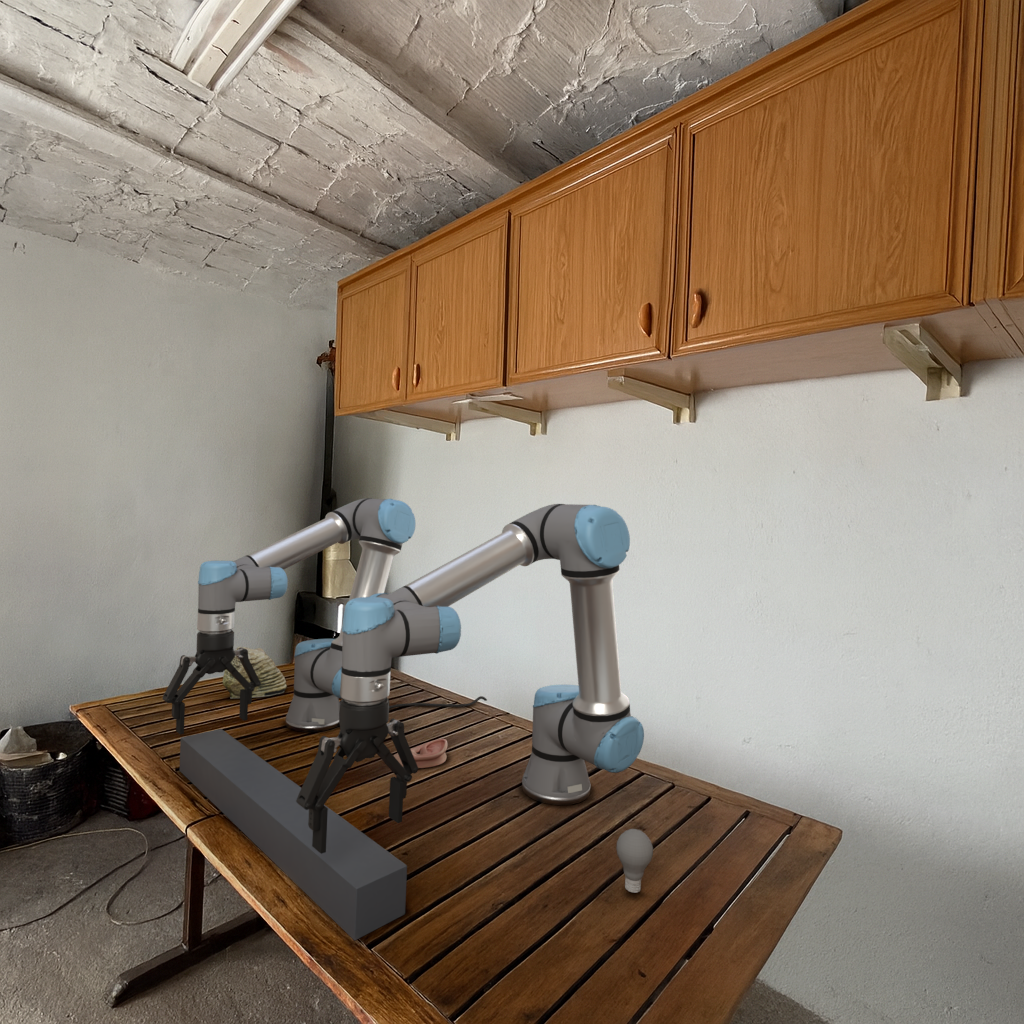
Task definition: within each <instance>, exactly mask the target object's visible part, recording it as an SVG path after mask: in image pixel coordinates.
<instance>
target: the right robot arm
mask: <svg viewBox="0 0 1024 1024" xmlns="http://www.w3.org/2000/svg"><path fill="white" fill-rule="evenodd" d="M630 536H631V535H630V530H629V527H628V524H627V523H626V521H625V519H624V517H623V516H622V515H621V514H619V513H618V511H616V510H615V509H613V508H611V507H607V506H601V505H597V504H572V503H571V504H570V503H569V504H568V503H567V504H566V503H553V504H548V505H545V506H542V507H539V508H537V509H536V510H533V511H531V512H528V513H526V514H525V515H523V516H521V517H519V518H517V519H515V520H513V521H511V522H509V523H507V524H506V525H504V526H503V527H502V530H501V532H500V533H499V534H497V535H495V536H494V537H492V538H490V539H488V540H487V541H485V542H483V543H481V544H479V545H478V546H475V547H473V548H471V549H470V550H467V551H466V552H465V553H463V554H461V555H459V556H457V557H455V558H453V559H452V560H449V561H448V562H446V563H444V564H442V565H440V566H438V567H437V568H435V569H433V570H431V571H429V572H428V573H426V574H424V575H422V576H420V577H418V578H416V579H414V580H413V581H411V582H409V583H408V584H405V585H404V586H402V587H399V588H397V589H396V590H393V591H392V592H390V593H388V592H384V593H377V594H374V595H372V596H370V597H360V598H354V599H351V600H350V601H349V600H348V601H347V602H346V604H345V607H344V613H343V620H342V624H343V627H342V626H341V628H342V632H343V644H342V670H341V686H340V697H341V698H342V699H341V698H340V699H341V700H339V702H340V711H339V724H340V725H339V731H338V735H337V736H334V737H328V736H326V735H322V736H321V737H320V738H319V741H318V748H317V752H316V755H315V756H314V759H313V761H312V764H311V766H310V767H309V768H310V769H309V771H308V773H307V775H306V777H305V780H304V782H303V783H302V786H301V790H300V793H299V795H298V797H297V800H296V802H297V803H298V804H299V805H300V806H302V807H303V808H304V809H306V810H308V809H309V819H308V826H309V828H310V829H312V830H313V839H312V847H314V848H315V849H316V850H317V851H318V852H320V853H321V854H322V853H325V852H326V838H327V815H328V808H329V807H328V806H327V807H328V808H327V807H325V806H326V802H327V801H328V800H329V798H330V796H332V794H333V792H334V790H335V789H336V787H337V786H338V784H339V783H340V781H341V780H342V778H343V777H344V775H345V773H346V772H347V771H348V769H351V768H352V766H353V765H354V763H355V762H356V763H360V762H363V761H364V760H365V759H373V758H375V756H376V755H377V756H378V758H380V759H381V760H382V762H383V763H384V764H385V765H386V766H387V767H388V769H390V771H391V772H392V774H393V775H395V776H391V777H390V778H389V779H390V780H389V799H388V800H389V801H388V818H389V819H391V820H392V821H394V822H395V823H397V824H400V823H402V822H403V809H404V799H406V797H407V792H408V783H410V782H411V781H412V779H413V775H412V774H417V773H418V771H419V768H418V766H417V764H416V761H415V759H414V757H413V754H412V752H411V747H410V745H409V742H408V740H407V738H406V734H405V723H404V722H402V721H400V720H398V719H396V718H391V719H390V720H389V718H390V709H389V706H390V700H389V696H390V692H391V691H390V690H391V671H392V660H393V659H394V658H400V657H401V658H402V657H411V656H421V655H429V654H430V655H431V654H436V655H437V654H439V653H443V652H448V651H452V650H453V649H455V648H456V647H457V646H458V644H459V642H460V640H461V636H462V623H461V619H460V616H459V614H458V612H457V611H456V610H455V609H454V608H453V607H451V606H452V605H453V604H455V603H457V602H458V601H460V600H462V599H464V598H466V597H467V596H469V595H471V594H472V593H474V592H476V591H478V590H479V589H481V588H483V587H484V586H486V585H488V584H489V583H491V582H493V581H495V580H496V579H498V578H500V577H502V576H503V575H505V574H507V573H508V572H511V571H512V570H513V569H515V568H517V567H518V566H522V567H528V566H530V565H533V563H535V562H538V561H543V560H557V561H559V564H560V575H561V576H562V578H564V579H565V580H566V581H568V583H569V590H570V602H571V603H570V605H571V614H572V615H571V616H572V627H573V637H574V652H575V661H576V662H575V663H576V670H577V671H576V672H577V673H576V675H577V684H578V685H576V684H550V685H545V686H542V687H539V688H537V690H536V691H535V693H534V699H533V704H532V734H531V735H532V736H531V753H530V756H529V758H528V759H529V760H528V761H527V764H526V767H525V769H524V772H523V775H522V780H521V782H522V783H521V788H522V791H523V793H524V794H525V795H526V796H527V797H529V798H530V799H532V800H534V801H536V802H540V803H543V804H547V805H553V806H569V805H575V804H579V803H583V801H585V800H587V799H588V798H589V797H590V795H591V780H590V778H589V773H588V768H587V766H586V765H587V764H586V762H587V763H589V764H591V765H593V766H595V767H596V768H597V769H599V770H603V771H606V772H607V773H608V772H609V773H612V774H618V773H622V772H624V771H626V770H627V769H629V767H631V766H632V765H633V764H634V762H635V761H636V760H637V758H638V756H639V755H640V754H641V750H642V749H643V745H644V739H645V729H644V726H643V724H642V722H641V721H639V719H638V718H637V717H635V716H632V714H631V704H630V698H629V697H628V696H627V695H626V694H625V693H624V692H623V691H622V685H621V672H620V659H619V657H620V656H619V645H618V634H617V633H618V631H617V619H616V607H615V606H616V605H615V593H614V582H613V580H614V579H615V577H616V576H617V575H619V573H620V565H622V563H623V562H624V561H625V560H626V558H627V557H628V555H627V552H629V550H630V545H631V537H630ZM388 735H390V738H391V740H392V743H393V745H394V748H395V750H396V752H397V753H398V755H399V757H400V759H401V762H402V764H403V766H402V765H401V764H400V763H399V762H398V761H397V759H396V758H395V757H394V756H393V755H394V754H393V753H392V752H391V750H390V749H389V747H388V746H387V745H386V743H384V742H385V740H386V738H387V737H388ZM338 747H339V748H338ZM345 756H346V758H344V757H345ZM332 760H333V761H332ZM324 805H325V806H324Z"/></svg>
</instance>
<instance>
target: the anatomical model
mask: <svg viewBox="0 0 1024 1024" xmlns="http://www.w3.org/2000/svg"><path fill="white" fill-rule="evenodd" d="M448 745H449V744H448V741H447V739H445V738H438V739H435V740H431V741H428V742H425V743H423V744H420V745H417V746H414V747H412V748H411V747H410V749H411V752H412V754H413V757H414V759H415V761H416V764H417V766H418V769H424V768H425V769H426V768H432V767H437V766H439V765H442V764H444V763H445V762H446V760H447V753H446V751H447V750H448ZM392 755H393V756H394V757H395V758H396V759H397V761H398V762H399V763H400V764H401V765H402V766H403V764H402V762H401V759H400V757H399V755H398V752H397V753H395V754H392Z"/></svg>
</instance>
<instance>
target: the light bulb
mask: <svg viewBox="0 0 1024 1024" xmlns="http://www.w3.org/2000/svg"><path fill="white" fill-rule="evenodd" d="M615 849H616V854H617V857H618V859H619V861H620V863H621V865H622V867H623V873H624V874H623V875H624V876H625V878H624V888H625V890H627V891H628V892H630V893H634V894H635V893H639V892H640V891H641V889H642V887H641V886H642V879H643V877H644V875H645V871H646V868H647V867H648V866H649V864H650V863H651V861H652V859H653V855H654V847H653V843H652V841H651V838H649V836H648V835H647V834H646V833H645V832H643V831H642V830H641V829H636V828H629V829H627V830H625V831H623V832H622V833H621V834H620V835H619V837H618V839H617V841H616V847H615Z"/></svg>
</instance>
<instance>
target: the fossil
mask: <svg viewBox="0 0 1024 1024" xmlns="http://www.w3.org/2000/svg"><path fill="white" fill-rule="evenodd" d="M240 647H242V648H245V649H247V650H248V658H249V660H250V662H251V664H252V666H253V668H254V670H255V672H256V674H257V676H258V678H259V680H260V682H261V685H260V686H259V687H255V689H254V691H253V692H252V698H264V697H271V696H275V695H281V694H284V693H285V691H286V689H287V687H288V686H287V680H286V678H285V676H284V674H283V673H282V672H281V669H279V668H278V667H277V665H276V663H275V662H274V660H273V659H272V658H271V657H270V656H269V655H268V654H267V653H266V652H265V650H264V649H263V648H260V647H258V648H251V647H247V646H246V647H245V646H238V647H237V648H236V649H235V650H238V649H239V648H240ZM231 664H232V665H233V666H234V667H235V668H236V669H237V671H238V672H239V673H240V674H241V675H242V676H243V677H244V678H245V679H246V680H247V681H248V682H251V681H250V679H249V677H248V675H247V673H246V671H245V669H244V667H243V665H242V663H241V661H240V659H239V658H237V656H235V657H234V659H233V660H232V662H231ZM222 676H223V677H222V685H223V687H224V688H225V690H226V691H228V693H229V698H230V699H240V690H241V689H245V688H244V687H243V686H242V685H241V684H240V683H239V682H238V681H237V680H236V679H235V678H234V677H233V676H232V675H231V674H230V673H229V672H228V671H227V670H225V671H223V675H222Z"/></svg>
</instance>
